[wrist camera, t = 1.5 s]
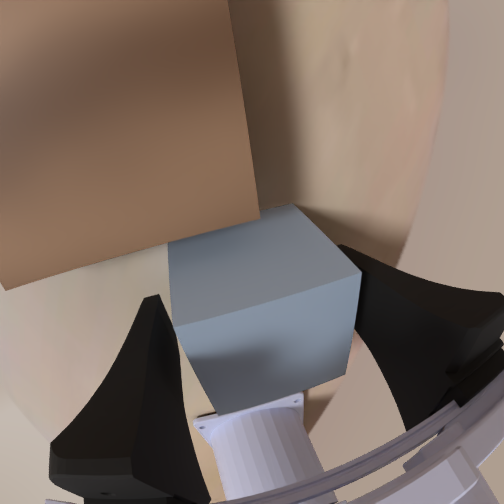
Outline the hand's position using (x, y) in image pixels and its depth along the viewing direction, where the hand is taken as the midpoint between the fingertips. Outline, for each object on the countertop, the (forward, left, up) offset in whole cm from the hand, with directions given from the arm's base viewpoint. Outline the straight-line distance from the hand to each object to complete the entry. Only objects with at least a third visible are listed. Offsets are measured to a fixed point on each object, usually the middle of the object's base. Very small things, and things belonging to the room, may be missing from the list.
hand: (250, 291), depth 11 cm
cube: (0, 0, -2) cm, 2 cm away
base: (+8, +4, -2) cm, 9 cm away
